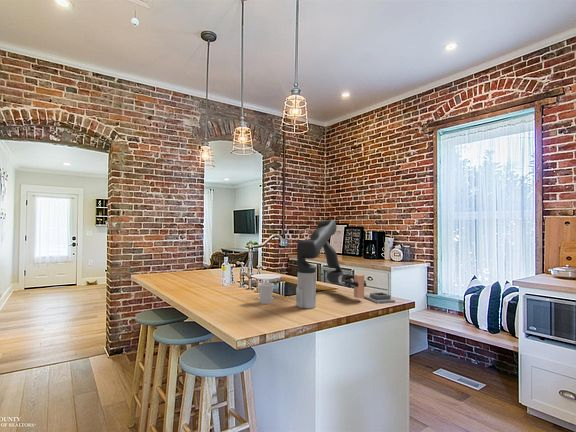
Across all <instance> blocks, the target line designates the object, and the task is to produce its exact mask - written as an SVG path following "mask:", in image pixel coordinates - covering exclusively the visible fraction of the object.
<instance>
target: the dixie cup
mask: <svg viewBox="0 0 576 432" xmlns="http://www.w3.org/2000/svg"><path fill="white" fill-rule="evenodd" d="M257 285H258V292H259V293H258V294H259V301H260V304H261V305H270V304H271V303H272V300H273V299H272V297H273V291H274V286H275V285H274V282H269V281H267V282H264V281H263V282H259V283H257Z"/></svg>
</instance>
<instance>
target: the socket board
mask: <svg viewBox="0 0 576 432" xmlns="http://www.w3.org/2000/svg"><path fill="white" fill-rule="evenodd" d="M391 297H392V296H391V294H387V293H385V292H369V295H364V298H363V299H366V300H368V301H371V302H373V303H375V304H388V303H396V300H395V299H392V298H391Z"/></svg>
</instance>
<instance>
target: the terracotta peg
mask: <svg viewBox="0 0 576 432" xmlns="http://www.w3.org/2000/svg"><path fill="white" fill-rule="evenodd" d="M353 275H354V282H357V283H358V287H355V286H354V287H353V297H354V298H357V299H365V298H364V296H365V287H364V280H365V275H364V274H360V273H357V274H355V273H354V274H353Z"/></svg>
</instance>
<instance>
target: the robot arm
mask: <svg viewBox="0 0 576 432" xmlns="http://www.w3.org/2000/svg"><path fill="white" fill-rule="evenodd" d="M337 229H338V228H337V224H336V221H335V220H333V219H327V220H320V221H318V222H317V228H316V229H315V230H314V231H313V232H312V233H311V235H310V236H309V237H310V238H309V239H308V240H307V239H306V240H305V239H301V240H300V239H299V240H298V242H297V245H296V267H297V286H296V288H295V306H296V307H297V308H299V309H314V308H316V305H317V297H316V296H317V294H316V293H317V292H316V291H317V289H316V287H317V268H316V265H313V264H311V263H309V262H308V261H307V260H308V259H309V260H310V259H312V260H313V259H317V257H319V255H320V253H321V250H322V249H323V250H324V251H323V252H324V254H325V259H326V264H327V267H328V268H330V269H334V270H331V271H329V272H327V274H326V280H327V281H328V283H330V284H338V285H342V286H343V287H345V288H349V289H352V288H354V286H355V287H358V283H357V282H354V274H351V273H347V272H343V269H342V268H341V266H340V264H339V258H338V253H337V252H336V249H334V247H333V246H332V245H331V244H330V242H329V241H328V240H329V239H330V238H331V237H332V236H333V235H335V234H336V232H337ZM306 259H307V260H306ZM365 287H367V283H366V280H365V279H364V288H365Z"/></svg>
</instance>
